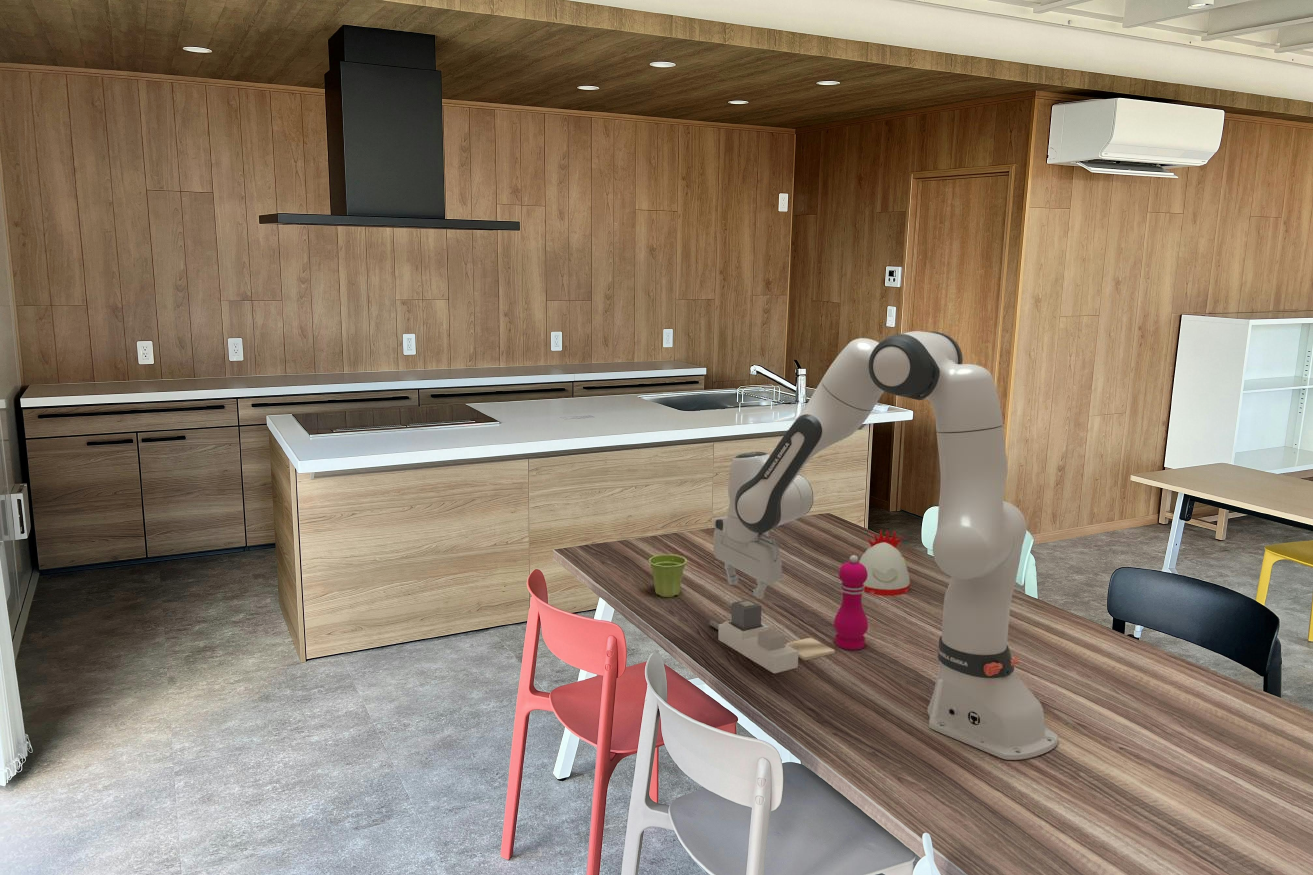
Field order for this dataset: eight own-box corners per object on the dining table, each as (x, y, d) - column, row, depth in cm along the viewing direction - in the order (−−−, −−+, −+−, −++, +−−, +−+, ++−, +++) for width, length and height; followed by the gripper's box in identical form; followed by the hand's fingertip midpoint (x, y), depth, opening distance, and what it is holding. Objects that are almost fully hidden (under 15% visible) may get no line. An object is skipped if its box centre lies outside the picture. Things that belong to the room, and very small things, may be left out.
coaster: (834, 652, 194) (834, 650, 194) (805, 660, 190) (805, 657, 190) (810, 639, 201) (810, 637, 201) (781, 647, 197) (781, 644, 197)
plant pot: (686, 600, 225) (687, 566, 224) (648, 599, 225) (648, 565, 224) (686, 587, 234) (686, 554, 233) (649, 586, 235) (649, 554, 233)
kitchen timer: (912, 597, 228) (915, 539, 226) (855, 594, 231) (858, 536, 228) (906, 579, 242) (909, 524, 239) (852, 576, 244) (855, 521, 242)
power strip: (799, 666, 187) (800, 639, 186) (772, 674, 183) (773, 645, 182) (723, 622, 210) (723, 597, 209) (697, 628, 207) (698, 603, 206)
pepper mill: (867, 652, 194) (871, 561, 191) (832, 649, 196) (836, 559, 192) (866, 639, 201) (871, 551, 198) (833, 636, 203) (836, 549, 199)
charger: (760, 632, 196) (761, 604, 195) (743, 636, 193) (744, 608, 192) (748, 625, 200) (749, 598, 198) (731, 629, 197) (731, 602, 196)
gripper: (790, 538, 185) (787, 603, 188) (732, 514, 203) (730, 574, 205) (765, 542, 182) (762, 608, 185) (709, 517, 200) (707, 578, 202)
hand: (745, 590), depth 195 cm, fingers open, 8 cm apart
